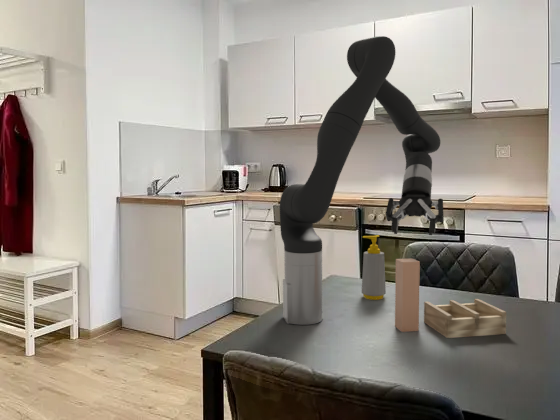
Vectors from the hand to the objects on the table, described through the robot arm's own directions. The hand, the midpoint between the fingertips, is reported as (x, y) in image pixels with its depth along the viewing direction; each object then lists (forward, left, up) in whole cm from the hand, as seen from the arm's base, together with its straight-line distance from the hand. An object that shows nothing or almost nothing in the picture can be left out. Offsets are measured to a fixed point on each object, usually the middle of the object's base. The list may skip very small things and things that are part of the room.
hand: (412, 232), depth 119 cm
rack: (+7, -12, -21) cm, 25 cm away
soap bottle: (-4, +17, -21) cm, 27 cm away
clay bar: (-6, -10, -21) cm, 24 cm away
